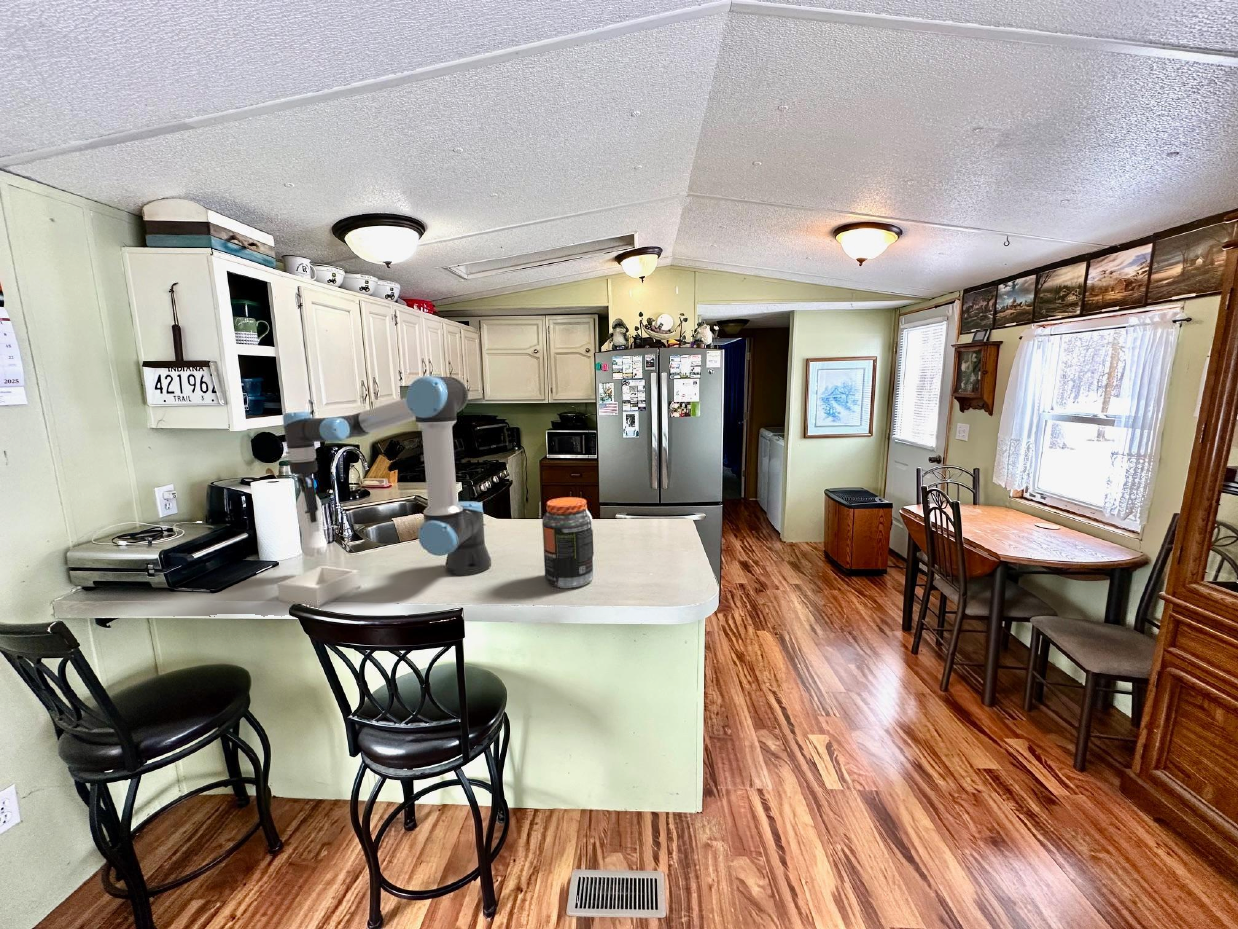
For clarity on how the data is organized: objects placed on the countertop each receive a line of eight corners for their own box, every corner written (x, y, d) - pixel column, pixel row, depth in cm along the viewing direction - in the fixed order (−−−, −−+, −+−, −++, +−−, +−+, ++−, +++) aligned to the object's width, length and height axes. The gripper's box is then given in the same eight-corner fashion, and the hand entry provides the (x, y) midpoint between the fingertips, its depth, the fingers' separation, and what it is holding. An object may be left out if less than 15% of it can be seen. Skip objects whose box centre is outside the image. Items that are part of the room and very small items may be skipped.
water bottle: (297, 556, 164) (287, 481, 160) (318, 549, 170) (309, 477, 166) (311, 559, 161) (301, 483, 157) (332, 552, 167) (323, 478, 163)
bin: (360, 587, 157) (358, 570, 156) (318, 608, 143) (315, 589, 142) (324, 582, 161) (322, 565, 160) (279, 601, 147) (277, 583, 146)
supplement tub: (601, 574, 165) (599, 497, 160) (582, 592, 150) (580, 509, 146) (558, 568, 170) (555, 494, 166) (535, 586, 155) (532, 505, 151)
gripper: (284, 458, 166) (293, 525, 169) (294, 465, 151) (304, 538, 154) (310, 456, 171) (318, 521, 174) (322, 461, 156) (331, 532, 159)
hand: (312, 529), depth 164 cm, fingers closed on water bottle, 7 cm apart
